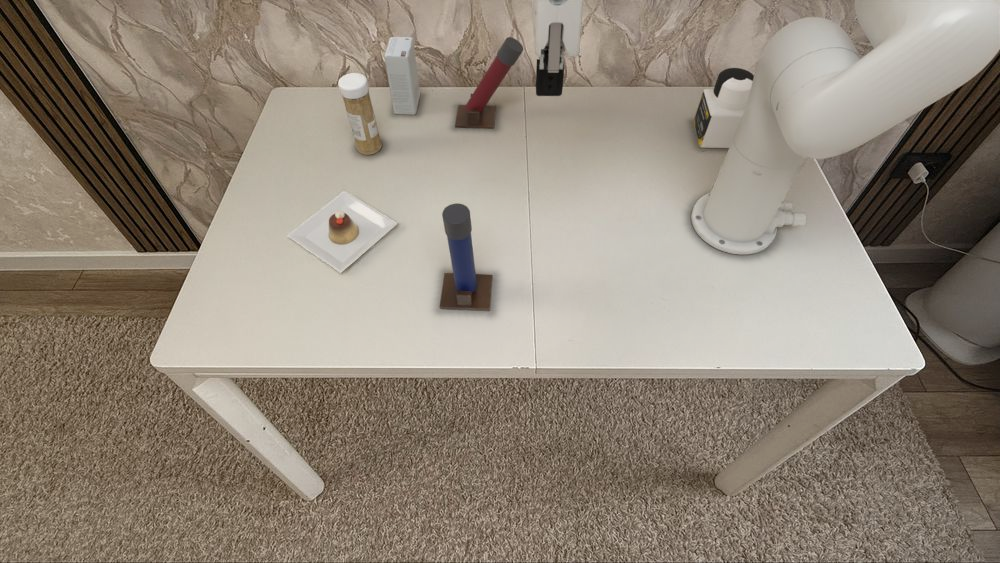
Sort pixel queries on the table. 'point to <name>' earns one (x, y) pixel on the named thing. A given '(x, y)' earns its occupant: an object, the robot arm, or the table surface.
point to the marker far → (495, 74)
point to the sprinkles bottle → (360, 112)
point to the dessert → (342, 230)
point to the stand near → (466, 294)
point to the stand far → (475, 117)
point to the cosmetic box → (402, 75)
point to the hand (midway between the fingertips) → (548, 91)
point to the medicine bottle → (722, 108)
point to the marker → (460, 246)
